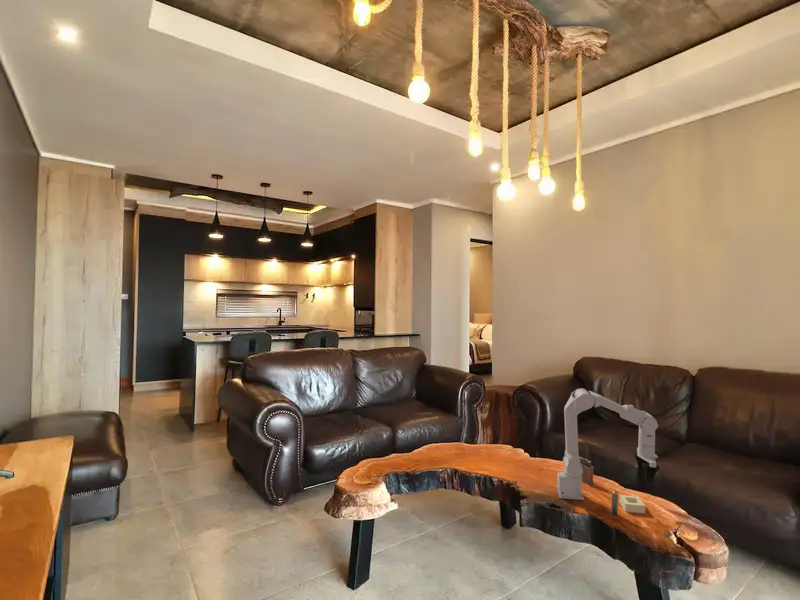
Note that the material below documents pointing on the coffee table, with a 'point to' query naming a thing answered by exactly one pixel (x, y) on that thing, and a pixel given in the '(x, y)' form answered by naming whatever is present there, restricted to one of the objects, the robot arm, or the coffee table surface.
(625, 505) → the block with square hole
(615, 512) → the metal peg
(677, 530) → the coffee table surface
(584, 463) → the lighter
